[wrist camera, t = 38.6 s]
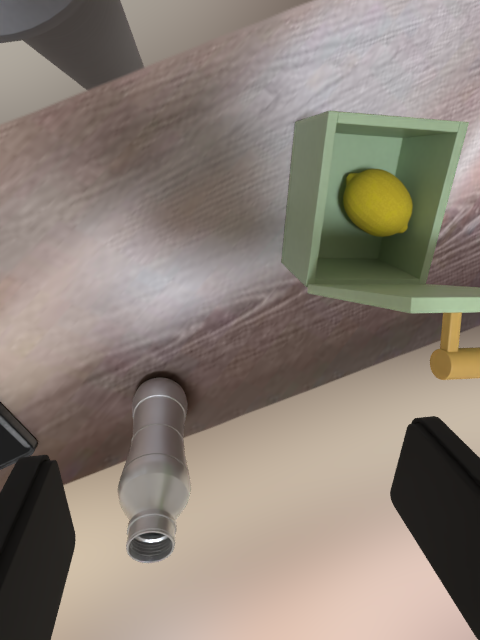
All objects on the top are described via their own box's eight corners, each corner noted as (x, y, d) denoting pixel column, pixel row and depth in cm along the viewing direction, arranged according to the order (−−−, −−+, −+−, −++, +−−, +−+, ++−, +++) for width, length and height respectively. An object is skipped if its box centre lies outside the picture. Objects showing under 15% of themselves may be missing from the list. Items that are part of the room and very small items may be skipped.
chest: (294, 121, 35) (328, 110, 27) (407, 130, 37) (469, 122, 29) (281, 262, 41) (306, 287, 33) (379, 263, 43) (425, 286, 35)
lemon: (323, 190, 34) (383, 250, 33) (369, 142, 33) (434, 204, 31) (329, 201, 40) (381, 253, 38) (369, 161, 38) (425, 214, 37)
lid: (411, 297, 18) (404, 393, 19) (610, 295, 20) (597, 383, 21) (307, 284, 32) (305, 338, 33) (428, 284, 34) (424, 335, 35)
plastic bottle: (170, 361, 44) (166, 503, 26) (196, 401, 47) (208, 553, 29) (123, 384, 44) (86, 540, 26) (152, 422, 47) (136, 586, 29)
